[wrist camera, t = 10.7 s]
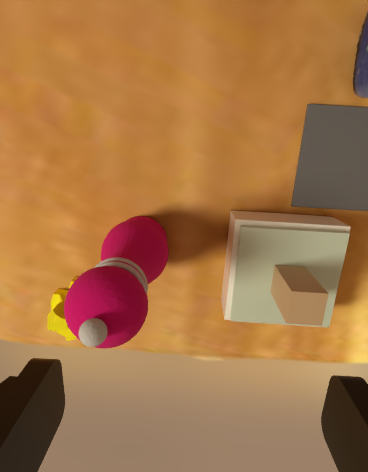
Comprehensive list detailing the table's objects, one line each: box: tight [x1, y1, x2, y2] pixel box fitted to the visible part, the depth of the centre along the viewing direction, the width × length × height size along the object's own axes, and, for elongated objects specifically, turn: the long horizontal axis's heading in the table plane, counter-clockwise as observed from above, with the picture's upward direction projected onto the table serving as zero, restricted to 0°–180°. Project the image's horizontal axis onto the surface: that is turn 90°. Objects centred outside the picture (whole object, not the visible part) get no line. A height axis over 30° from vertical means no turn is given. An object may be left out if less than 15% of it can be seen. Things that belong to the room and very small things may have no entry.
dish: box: [221, 210, 351, 320], centre depth 36 cm, size 12×12×4 cm
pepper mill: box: [64, 216, 168, 348], centre depth 28 cm, size 7×7×20 cm
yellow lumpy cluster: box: [47, 277, 78, 341], centre depth 37 cm, size 6×8×8 cm
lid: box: [230, 225, 350, 327], centre depth 30 cm, size 11×11×7 cm
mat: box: [291, 104, 368, 211], centre depth 34 cm, size 11×11×1 cm
